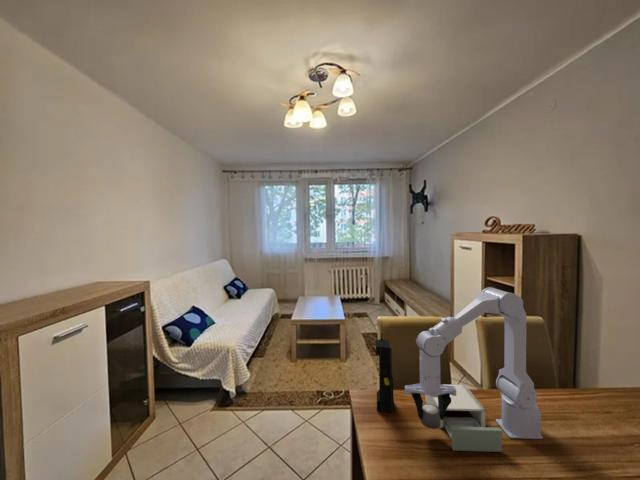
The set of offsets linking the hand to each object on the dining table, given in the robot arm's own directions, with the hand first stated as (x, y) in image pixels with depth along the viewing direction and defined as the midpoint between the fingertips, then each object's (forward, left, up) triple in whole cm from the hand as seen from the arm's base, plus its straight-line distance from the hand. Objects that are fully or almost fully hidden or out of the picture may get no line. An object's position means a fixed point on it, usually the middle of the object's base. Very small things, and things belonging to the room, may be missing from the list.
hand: (430, 417), depth 84 cm
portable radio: (+11, -14, -6) cm, 19 cm away
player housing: (-11, -11, -6) cm, 17 cm away
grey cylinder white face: (0, 0, -2) cm, 2 cm away
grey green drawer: (-11, -1, -6) cm, 12 cm away
